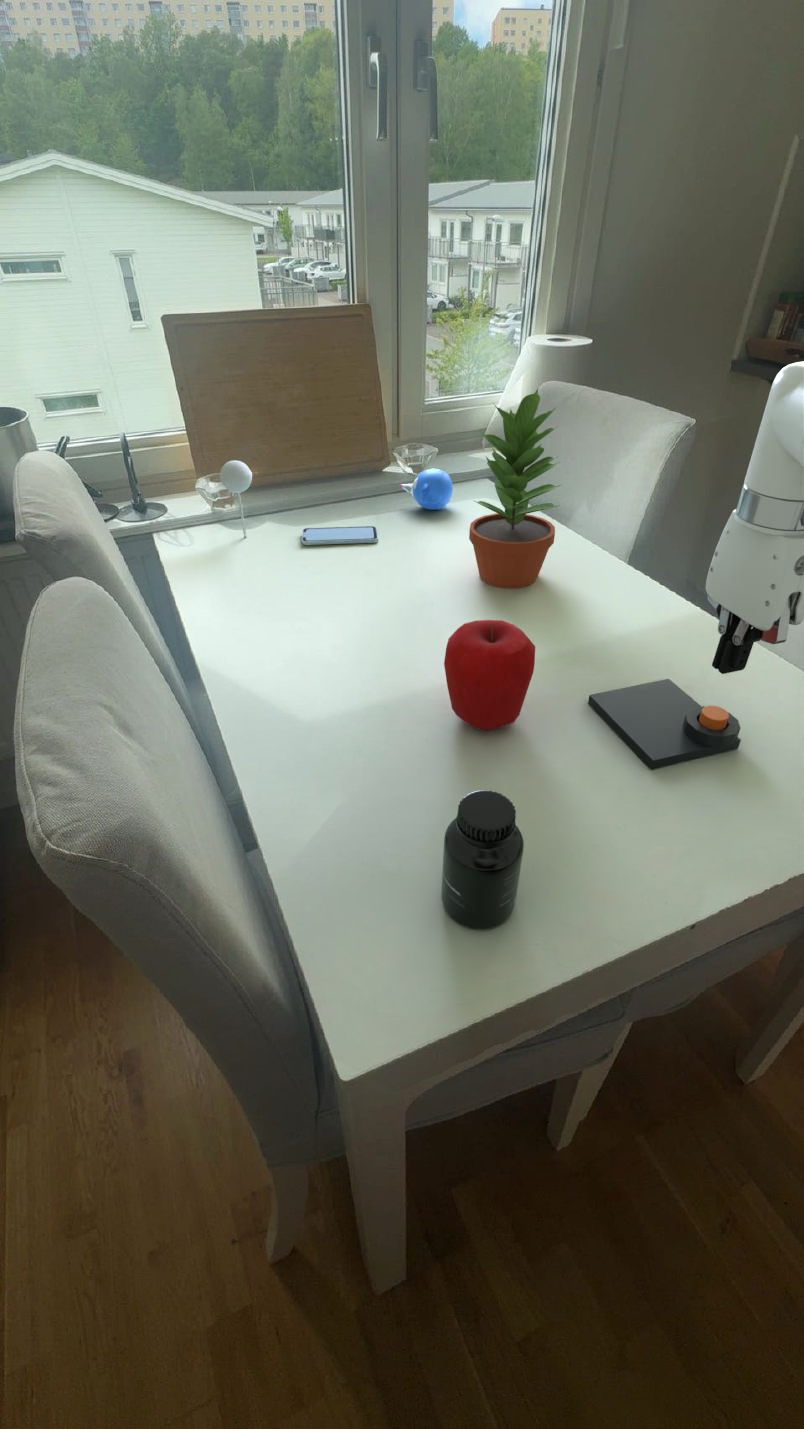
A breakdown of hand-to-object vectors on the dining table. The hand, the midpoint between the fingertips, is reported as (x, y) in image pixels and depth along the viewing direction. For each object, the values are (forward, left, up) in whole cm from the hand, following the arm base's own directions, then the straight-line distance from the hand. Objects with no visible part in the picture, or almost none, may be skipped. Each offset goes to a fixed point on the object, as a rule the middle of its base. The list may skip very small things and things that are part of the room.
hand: (727, 668), depth 76 cm
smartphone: (+78, +27, -10) cm, 83 cm away
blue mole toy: (+89, +5, -10) cm, 90 cm away
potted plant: (+50, +3, -10) cm, 51 cm away
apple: (+12, +24, -10) cm, 28 cm away
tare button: (0, 0, -8) cm, 8 cm away
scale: (+4, +4, -10) cm, 12 cm away
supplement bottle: (-14, +36, -10) cm, 39 cm away
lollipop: (+85, +45, -10) cm, 97 cm away
